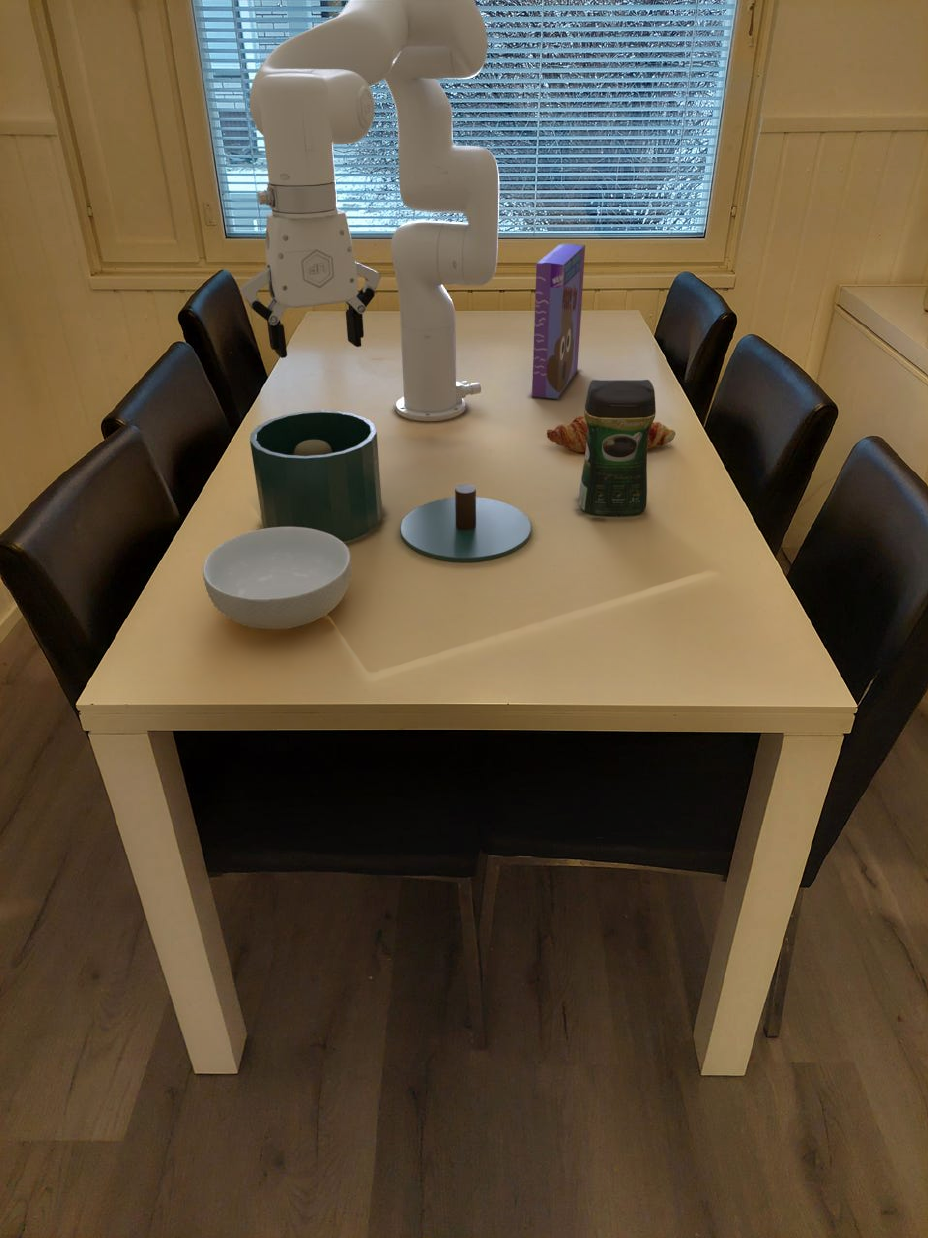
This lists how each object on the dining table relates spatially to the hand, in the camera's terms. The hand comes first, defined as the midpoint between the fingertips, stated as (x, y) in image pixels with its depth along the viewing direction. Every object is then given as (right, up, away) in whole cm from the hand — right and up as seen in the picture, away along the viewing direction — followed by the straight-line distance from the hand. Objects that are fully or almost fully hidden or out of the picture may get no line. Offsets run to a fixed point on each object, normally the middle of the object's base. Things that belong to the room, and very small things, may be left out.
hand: (318, 349), depth 110 cm
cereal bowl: (-3, -33, -5) cm, 34 cm away
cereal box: (+36, +12, +61) cm, 72 cm away
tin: (-2, -20, +14) cm, 24 cm away
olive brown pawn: (-2, -20, +14) cm, 24 cm away
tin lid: (+18, -22, +10) cm, 30 cm away
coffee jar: (+39, -18, +17) cm, 46 cm away
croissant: (+42, -6, +35) cm, 55 cm away
